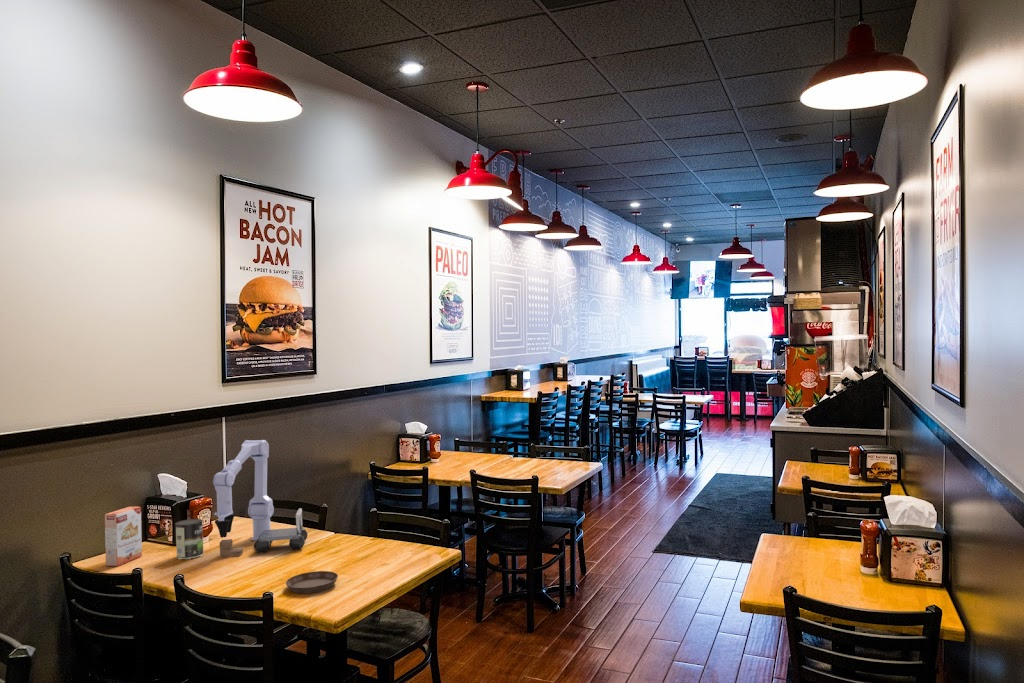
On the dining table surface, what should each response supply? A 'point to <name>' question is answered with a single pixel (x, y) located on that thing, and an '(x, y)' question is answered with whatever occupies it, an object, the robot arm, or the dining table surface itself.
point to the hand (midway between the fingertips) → (225, 534)
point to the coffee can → (189, 538)
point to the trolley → (283, 536)
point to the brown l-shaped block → (229, 549)
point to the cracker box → (123, 536)
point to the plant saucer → (312, 581)
